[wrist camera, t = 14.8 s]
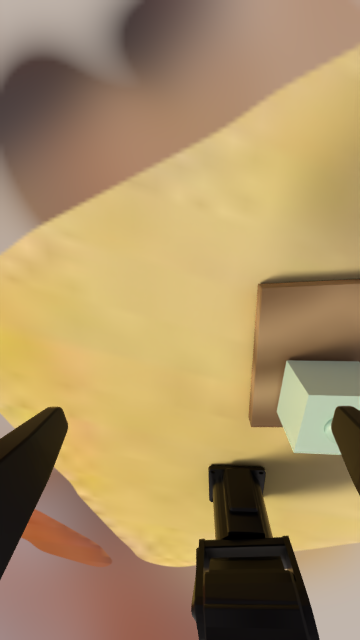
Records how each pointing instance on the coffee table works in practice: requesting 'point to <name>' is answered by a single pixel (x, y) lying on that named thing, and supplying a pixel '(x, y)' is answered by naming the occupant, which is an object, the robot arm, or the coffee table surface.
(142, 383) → the coffee table surface
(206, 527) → the coffee table surface
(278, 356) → the board
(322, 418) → the pale green knobbed block
